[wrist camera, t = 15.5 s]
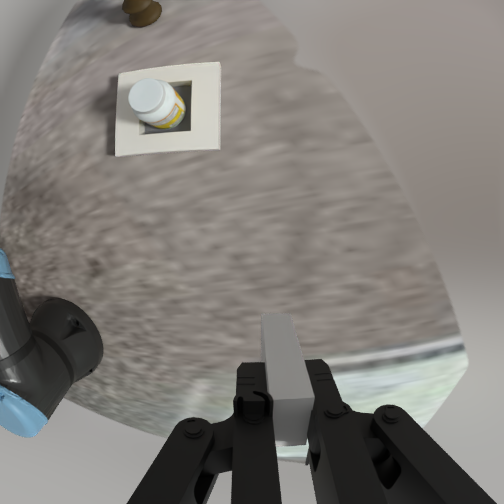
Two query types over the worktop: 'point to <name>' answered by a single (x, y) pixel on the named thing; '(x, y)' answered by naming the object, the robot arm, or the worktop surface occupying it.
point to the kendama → (142, 11)
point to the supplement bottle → (157, 103)
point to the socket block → (193, 124)
